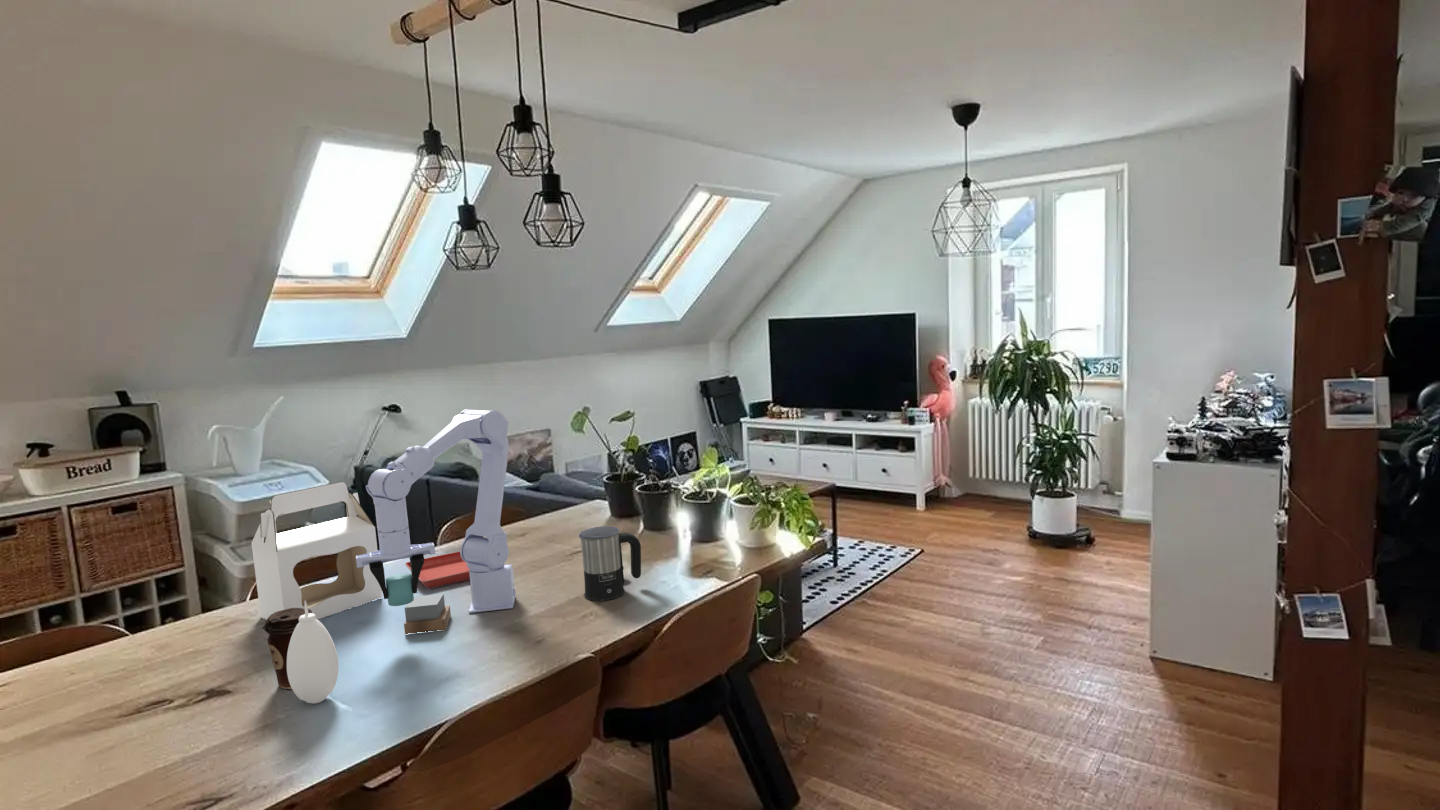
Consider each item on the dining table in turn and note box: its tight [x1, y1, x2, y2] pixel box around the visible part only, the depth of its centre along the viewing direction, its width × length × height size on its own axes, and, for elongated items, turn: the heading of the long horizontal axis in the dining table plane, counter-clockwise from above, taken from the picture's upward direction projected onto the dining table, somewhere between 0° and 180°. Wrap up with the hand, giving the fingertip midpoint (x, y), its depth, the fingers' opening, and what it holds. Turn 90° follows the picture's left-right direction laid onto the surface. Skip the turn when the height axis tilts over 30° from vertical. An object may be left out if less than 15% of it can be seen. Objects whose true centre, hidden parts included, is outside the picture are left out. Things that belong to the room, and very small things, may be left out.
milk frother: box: [578, 526, 642, 602], centre depth 185 cm, size 14×16×15 cm
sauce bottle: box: [287, 601, 339, 705], centre depth 136 cm, size 8×8×18 cm
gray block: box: [404, 593, 446, 622], centre depth 168 cm, size 6×6×3 cm
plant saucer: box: [404, 550, 470, 589], centre depth 201 cm, size 18×18×3 cm
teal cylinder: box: [385, 573, 415, 607], centre depth 159 cm, size 5×5×5 cm
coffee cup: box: [262, 608, 317, 690], centre depth 144 cm, size 9×8×13 cm
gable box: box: [251, 481, 383, 621], centre depth 181 cm, size 22×13×28 cm, turn 141°
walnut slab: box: [403, 605, 452, 635], centre depth 168 cm, size 8×8×3 cm
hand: (400, 594), depth 159 cm, fingers closed on teal cylinder, 5 cm apart
